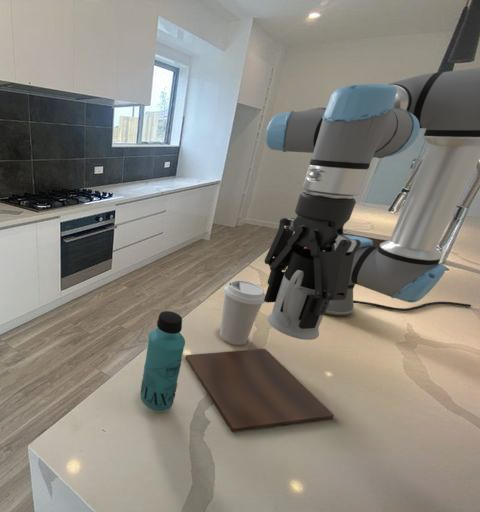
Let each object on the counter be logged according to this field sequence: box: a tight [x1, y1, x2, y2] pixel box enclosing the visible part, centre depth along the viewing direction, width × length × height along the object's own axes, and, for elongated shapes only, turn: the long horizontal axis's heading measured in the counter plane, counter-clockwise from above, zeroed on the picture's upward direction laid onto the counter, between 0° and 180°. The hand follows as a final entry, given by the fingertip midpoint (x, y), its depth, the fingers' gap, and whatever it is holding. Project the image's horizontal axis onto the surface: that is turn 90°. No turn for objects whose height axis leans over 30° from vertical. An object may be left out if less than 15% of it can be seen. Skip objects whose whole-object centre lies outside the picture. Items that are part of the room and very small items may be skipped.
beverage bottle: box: [139, 310, 186, 412], centre depth 54 cm, size 6×7×20 cm
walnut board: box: [184, 348, 335, 433], centre depth 63 cm, size 21×19×1 cm
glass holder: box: [266, 247, 325, 341], centre depth 54 cm, size 9×14×15 cm, turn 129°
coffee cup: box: [219, 279, 266, 346], centre depth 76 cm, size 10×10×15 cm
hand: (287, 313), depth 57 cm, fingers closed on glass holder, 8 cm apart
